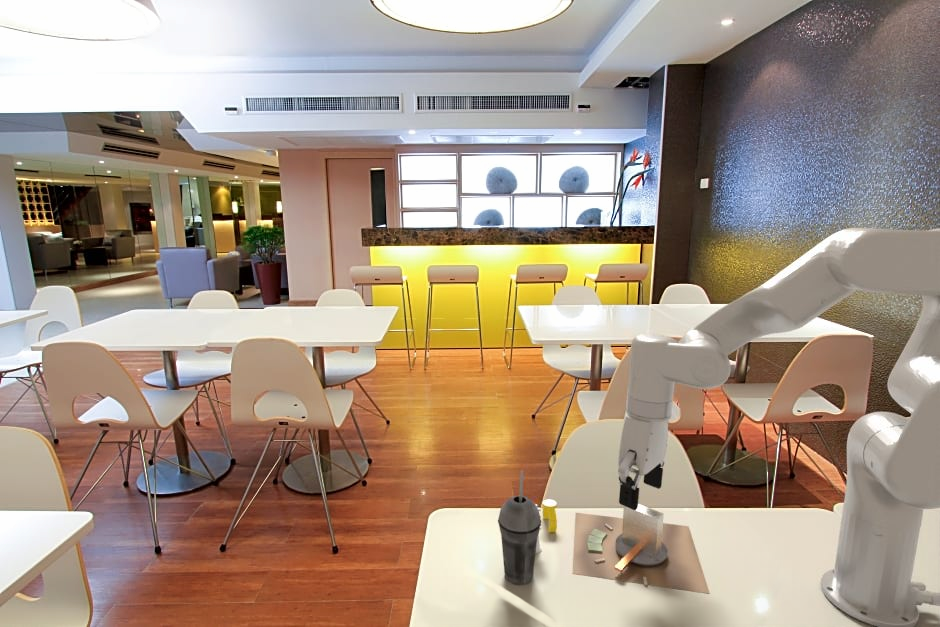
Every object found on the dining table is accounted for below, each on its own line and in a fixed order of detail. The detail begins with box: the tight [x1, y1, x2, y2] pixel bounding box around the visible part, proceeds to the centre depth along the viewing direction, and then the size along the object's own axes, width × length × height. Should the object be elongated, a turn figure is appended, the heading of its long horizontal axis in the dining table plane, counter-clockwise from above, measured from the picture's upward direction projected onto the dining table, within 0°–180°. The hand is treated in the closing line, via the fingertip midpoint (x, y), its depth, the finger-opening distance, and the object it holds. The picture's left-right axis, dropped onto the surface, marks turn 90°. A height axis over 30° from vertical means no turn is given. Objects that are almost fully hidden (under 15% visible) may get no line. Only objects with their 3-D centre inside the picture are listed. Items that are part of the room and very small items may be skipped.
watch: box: [542, 498, 558, 533], centre depth 102 cm, size 6×3×6 cm, turn 6°
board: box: [572, 512, 711, 595], centre depth 95 cm, size 22×19×2 cm
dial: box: [615, 503, 667, 572], centre depth 91 cm, size 14×9×8 cm, turn 137°
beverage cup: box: [497, 470, 542, 586], centre depth 86 cm, size 7×7×20 cm
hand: (640, 495), depth 92 cm, fingers open, 9 cm apart
